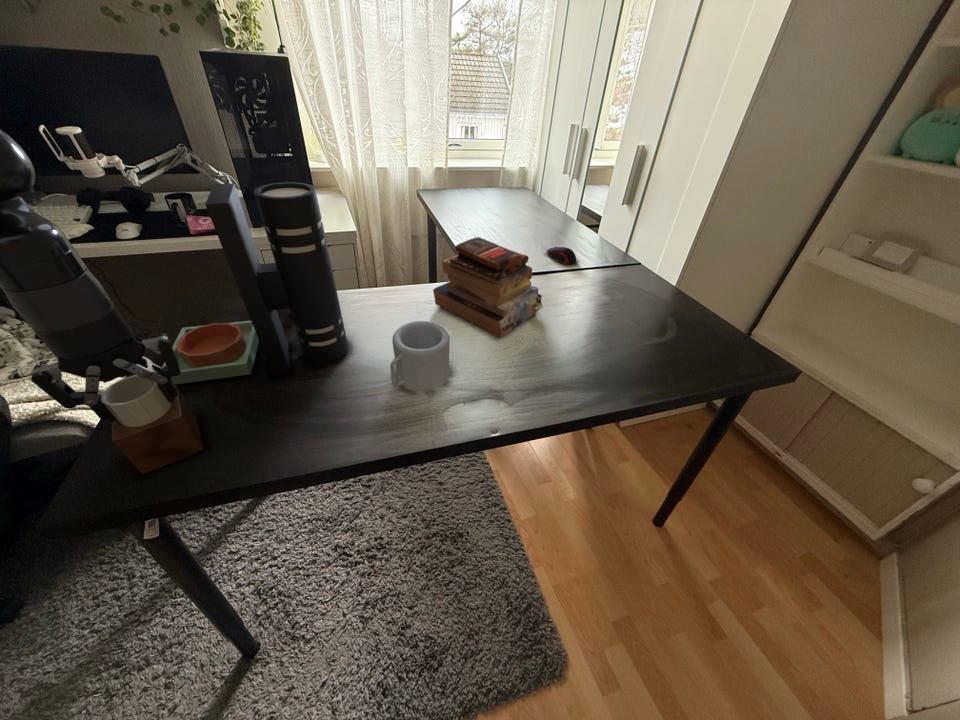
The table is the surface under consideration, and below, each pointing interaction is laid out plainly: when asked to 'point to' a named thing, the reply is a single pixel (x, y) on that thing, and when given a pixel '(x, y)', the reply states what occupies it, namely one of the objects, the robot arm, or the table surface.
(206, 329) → the big bowl
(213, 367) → the tray
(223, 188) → the light fixture
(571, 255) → the computer mouse
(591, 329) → the table surface
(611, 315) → the table surface
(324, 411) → the table surface
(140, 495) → the table surface
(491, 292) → the stack of old books
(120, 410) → the small bowl
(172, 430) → the block
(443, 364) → the mug
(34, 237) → the robot arm
